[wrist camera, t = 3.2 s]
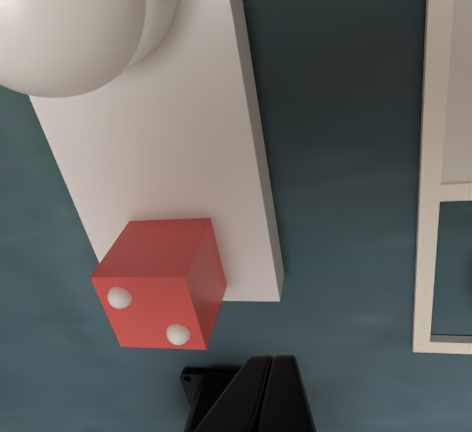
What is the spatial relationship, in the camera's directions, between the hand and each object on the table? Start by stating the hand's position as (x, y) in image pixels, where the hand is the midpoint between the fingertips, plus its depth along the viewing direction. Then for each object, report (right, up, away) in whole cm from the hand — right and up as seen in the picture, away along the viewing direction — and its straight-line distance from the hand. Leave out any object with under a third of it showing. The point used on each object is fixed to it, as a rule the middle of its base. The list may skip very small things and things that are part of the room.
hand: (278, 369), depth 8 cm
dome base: (-4, +7, +12) cm, 14 cm away
